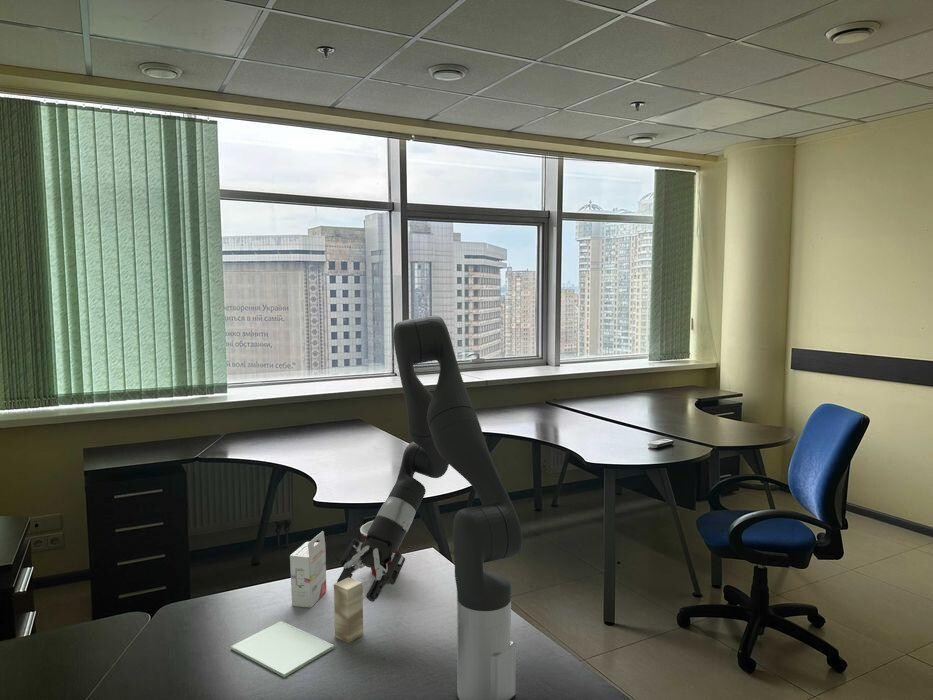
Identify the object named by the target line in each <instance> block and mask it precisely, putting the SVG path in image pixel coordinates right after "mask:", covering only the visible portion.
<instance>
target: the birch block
mask: <svg viewBox="0 0 933 700" xmlns="http://www.w3.org/2000/svg"><path fill="white" fill-rule="evenodd" d="M363 591H364V590H363V582H362V581H360V580H357V579H354V578H352V577H351V578H349V577H348V578H346V579H344V580H342V581H340V582H338V583H337V582H336V583H334V584H333V600H334V601H333V602H334V603H333V605H334V606H333V609H334V612H333V613H334V637H335V638H336V639H339V640H341V641H342V642H345V643H348V644H351V643H352V642H353V641H354V640H356V639H358V638H359V637H361V636H363V635H364V606H363V605H364V604H363V603H364V601H363V597H364V595H363Z"/></svg>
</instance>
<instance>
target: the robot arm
mask: <svg viewBox="0 0 933 700" xmlns="http://www.w3.org/2000/svg"><path fill="white" fill-rule="evenodd" d="M393 345H394V347H393V348H394V353H395V357H396V362H397V368H398V372H399V377H400V378H399V379H400V382H401V383H400V384H401V386H402V390H403V394H404V400H405V405H406V411H407V427H408V436H409V438H410V440H411V441H412V442H409V444H408V445H407V446H406V447H405V449H404V451H403V455H402V459H401V464H400V467H399V471H398V474H397V478H396V482H395V483H394V485H393V487H392V489H391V490H390V492H389V494H388V497H387V499H386V500H385V501H384V502H383V504H382V505H381V507H379V508H380V509H379V510H378V512H377V514H376V516H375V518H374V519H373V520H374V521H373V520H372V521H373V523H372V525H371V527H370V528H369V530H368V532H367V539H366V540H365V539H364V541H363V542H362V541H359V540H358V539H357V538H356V537H355V538H353V539H352V540H351V541H350V543H349V544H348V546H347V547H346V549H345V551H344V552H343V554H342V556H341V557H340V559H339V561H338V562H339V564H340V565H341V566H342V567H343V569H342V571H341V573H340V575H339V577H338V579H337V581H336V583H338V582H340V581H342V580H344V579H346V578H348V577H349V578H352V577H353V573H355V572H356V571H358V570H359V569H363V568H364V567H366V568H368V569H369V568H370V569H371V568H373V569H375V570H376V576H375V577H376V579H374V580H373V582H372V584H371V586H370V588H369V590H368V592H367V594H366V595H365V598H366V599H367V600H368V601H370V602H371V603H373V602H375V601H377V599H378V598H379V596H380V594H381V593H382V590H383V588H384V587H385V586H386V585H392V586H393V585H394V584H396V582H397V579H398V577H399V575H400V573H401V570H402V569H403V565H404V564H405V561H406V558H405V557H404V555H402V553H400V552H396V553H395V551H396V550H398V549H399V550H400V547H401V545H402V543H403V541H404V539H405V537H406V535H407V533H408V531H409V529H410V527H411V525H412V523H413V520H414V518H415V515H416V513H417V511H418V509H419V507H420V505H421V503H422V501H423V499H424V498H425V495H426V487H425V486H424V484H422V483H421V482H420V481H419V480H418V479H416V478H415V477H414V475H415V473H418V474H420V475H422V476H426V477H428V478H433V479H439V478H441V477H443V476H445V474H446V473H447V471H448V468H449V466H450V467H451V468H452V469H454V470H455V471H456V472H457V473H458V474H459V475H460V476H461V477H463V478H464V479H465V481H467V482H468V483H469V484H470V485H471V486H472V488H473V489H474V491H475V492H476V494H477V496H478V498H479V500H480V503H481V505H477V506H471V507H470V506H469V507H464V508H462V509H459V510H458V511H457V512H456V514H455V516H454V519H453V525H452V543H453V558H454V579H455V585H456V603H457V604H456V605H457V606H456V611H457V612H456V614H457V615H456V625H457V626H456V627H457V628H456V636H457V637H456V638H457V639H456V646H457V647H456V652H457V653H456V655H457V657H456V664H457V665H456V670H457V671H456V674H457V675H456V676H457V678H456V680H457V682H456V684H457V685H456V687H457V688H456V689H457V690H456V692H457V693H456V694H457V697H458V699H459V700H511V699H512V698H513V697H514V696H516V662H517V661H516V655H517V654H516V647H517V646H516V642H515V641H514V640H511V639H512V638H511V637H512V635H511V634H512V633H511V631H512V629H511V627H512V585H511V582H510V581H509V580H508V579H507V578H506V577H505V576H503V575H501V574H499V573H496V572H492V571H486V570H484V564H485V563H489V562H493V561H500V560H502V559H503V560H504V559H508V558H512V557H515V556H517V555H518V554H519V553H520V552H521V550H522V547H523V543H524V542H523V540H524V539H523V531H522V530H523V529H522V526H521V522H520V520H519V517H518V514H517V511H516V509H515V507H514V503H512V500H511V497H510V496H509V493H508V492H507V490H506V487H505V485H504V483H503V481H502V480H501V477H500V475H499V473H498V471H497V468H496V465H495V463H494V461H493V458H492V455H491V453H490V450H489V447H488V445H487V442H486V439H485V436H484V433H483V431H482V430H483V429H482V428H481V427H482V426H481V424H480V421H479V418H478V416H477V413H476V411H475V408H474V405H473V403H472V401H471V398H470V395H469V393H468V390H467V388H466V385H465V382H464V379H463V377H462V373H461V370H460V368H459V365H458V361H457V360H458V359H457V357H456V353H455V350H454V346H453V342H452V339H451V335H450V332H449V329H448V326H447V324H446V323H445V320H444V319H443V318H442V317H441V316H438V315H428V316H421V317H415V318H409V319H405V320H401V321H397V322H396V323H395V324H394V327H393ZM433 361H434V362H435V361H437V362H438V365H439V374H438V379H437V382H436V386H435V389H434V391H433V393H431V392H430V390H428V388H427V387H426V386H425V385H424V384H423V383H422V381H421V380H420V379H419V377H418V376H417V374H416V372H415V368H414V365H418V364H422V363H427V362H433ZM390 561H391V564H390V566H389V568H388V567H387V563H388V562H390Z"/></svg>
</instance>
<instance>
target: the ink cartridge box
mask: <svg viewBox="0 0 933 700" xmlns="http://www.w3.org/2000/svg"><path fill="white" fill-rule="evenodd" d="M317 541H318V542H317ZM326 551H327V550H326V540H325V531H324V530H322V531H321V532H320V533H318V534H317V535H316V536H314V537H313V538H312V539H311V540H310V541H306V542H304V543H303V544H302V545H301V546H299V547H298V548H297V549H296V550H295V551H293V552H292V553H291V554H290V555H289V561H290V562H289V564H290V566H289V567H290V569H289V570H290V586H291V587H290V588H291V589H290V592H291V606H292V607H302V608H312V607H313V606H315V604H316V603H317V602H318V600H319V599H321V597H322V596H323V595H324V594H325V593H326V591H327V563H326V561H327V558H326V555H327V554H326Z"/></svg>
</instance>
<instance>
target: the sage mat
mask: <svg viewBox="0 0 933 700" xmlns="http://www.w3.org/2000/svg"><path fill="white" fill-rule="evenodd" d="M334 648H335V644H332V643H331V642H329V641H325V640H324V639H322V638H320V637H318V636H315V635H314V634H311V633H309V632H307V631H304V630H302V629H299V628H298V627H295V626H293V625H291V624H288V623H286V622H284V621H282V620H280V621H278V622H277V623H275V624H273V625H270V626H269V627H268V626H267V628H264V629H262V630H261V631H258V632H257V633H255V634H252V635H251V636H249V637H246V638H245V639H243V640H241V641H238V642H237V643H234V644H233V645H231V646H230V649H231V650H232V651H234V652H235V653H238V654H239V655H242V656H243V657H244V658H247V659H249V660H250V661H252V662H254V663H256V664H258V665H260V666H262V667H263V668H266V669H267V670H269V671H271V672H273V673H276V675H279V676H280V677H283V678H286V677H288V676H290V675H292V674H293V673H295V672H296V671H298V670H299V669H301V668H303V667H305V666H306V665H308V664H310V663H311V662H313V661H315V660H316V659H319V658H320V657H321V656H323V655H325V654H326V653H328V652H329V651H332V650H333V649H334Z"/></svg>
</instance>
